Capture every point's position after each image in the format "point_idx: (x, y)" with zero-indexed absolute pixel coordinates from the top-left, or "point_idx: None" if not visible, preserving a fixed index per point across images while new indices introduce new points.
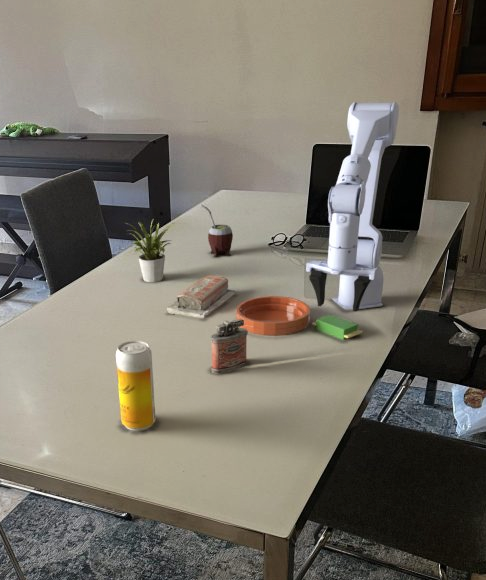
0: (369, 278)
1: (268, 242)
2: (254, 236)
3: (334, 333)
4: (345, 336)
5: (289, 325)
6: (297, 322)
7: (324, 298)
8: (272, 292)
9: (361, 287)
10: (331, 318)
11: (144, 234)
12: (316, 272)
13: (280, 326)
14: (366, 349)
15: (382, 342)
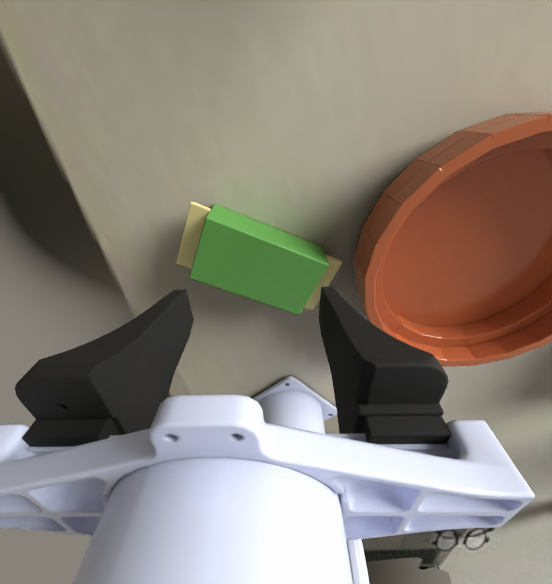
0: (22, 430)
1: (493, 532)
2: (518, 540)
3: (250, 224)
4: (202, 206)
5: (416, 178)
6: (389, 211)
7: (321, 332)
8: (478, 406)
9: (69, 355)
10: (284, 289)
11: None
12: (405, 425)
13: (455, 148)
14: (124, 179)
15: (119, 249)
